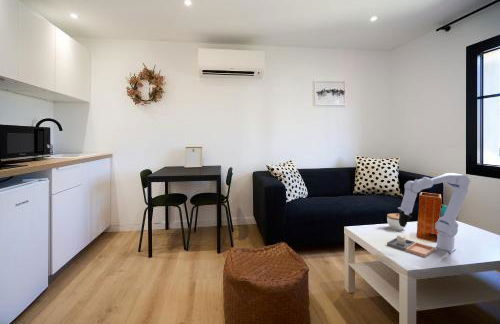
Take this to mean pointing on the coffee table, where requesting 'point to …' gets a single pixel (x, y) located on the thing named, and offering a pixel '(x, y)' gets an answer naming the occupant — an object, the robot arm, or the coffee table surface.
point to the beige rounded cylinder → (401, 240)
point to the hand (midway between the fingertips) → (401, 225)
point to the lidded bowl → (394, 221)
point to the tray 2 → (420, 249)
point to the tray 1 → (394, 244)
